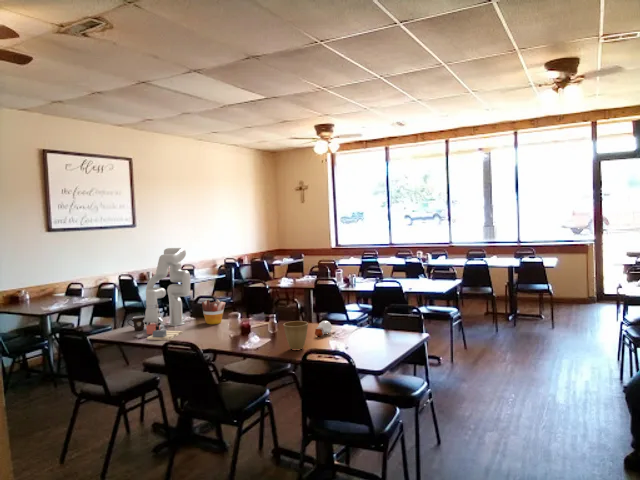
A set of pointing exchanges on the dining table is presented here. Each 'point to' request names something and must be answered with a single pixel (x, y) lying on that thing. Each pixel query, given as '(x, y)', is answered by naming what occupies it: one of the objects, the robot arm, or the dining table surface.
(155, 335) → the coupler nose
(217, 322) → the bucket of meat
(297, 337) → the plant pot
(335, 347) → the dining table surface
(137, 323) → the coffee mug
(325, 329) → the potion bottle
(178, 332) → the slatted wooden trivet
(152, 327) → the block
